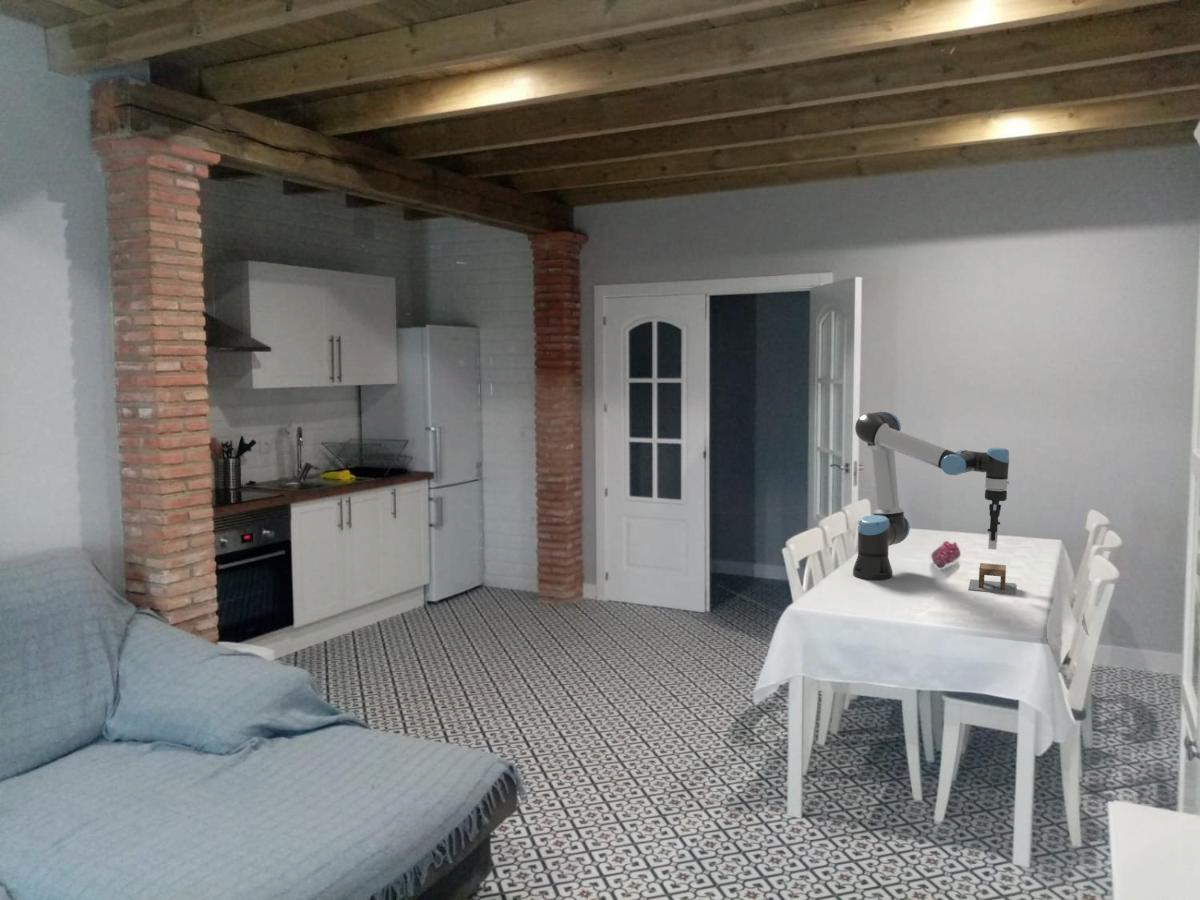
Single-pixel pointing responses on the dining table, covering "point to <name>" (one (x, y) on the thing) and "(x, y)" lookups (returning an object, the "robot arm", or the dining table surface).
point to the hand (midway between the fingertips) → (992, 545)
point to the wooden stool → (992, 573)
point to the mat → (992, 587)
